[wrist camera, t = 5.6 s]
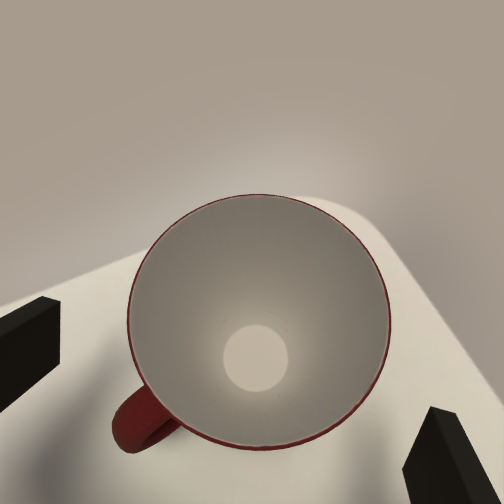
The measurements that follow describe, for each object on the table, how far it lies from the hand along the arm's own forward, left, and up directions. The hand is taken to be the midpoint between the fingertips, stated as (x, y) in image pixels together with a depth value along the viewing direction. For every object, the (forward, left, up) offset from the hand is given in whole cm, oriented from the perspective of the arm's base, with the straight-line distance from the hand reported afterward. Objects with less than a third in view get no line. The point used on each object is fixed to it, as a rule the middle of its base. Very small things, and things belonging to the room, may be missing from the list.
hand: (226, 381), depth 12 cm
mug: (-1, +1, -7) cm, 8 cm away
